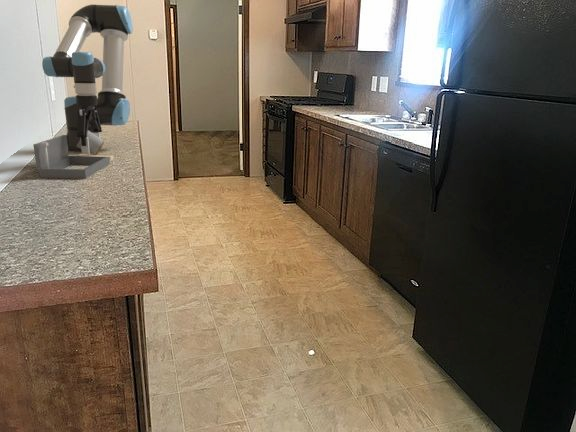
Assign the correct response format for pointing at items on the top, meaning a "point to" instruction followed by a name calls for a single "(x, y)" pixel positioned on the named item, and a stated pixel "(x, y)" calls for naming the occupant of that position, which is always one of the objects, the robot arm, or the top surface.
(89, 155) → the beige square panel
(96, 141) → the ceramic mug
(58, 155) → the case
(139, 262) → the top surface
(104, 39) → the robot arm
